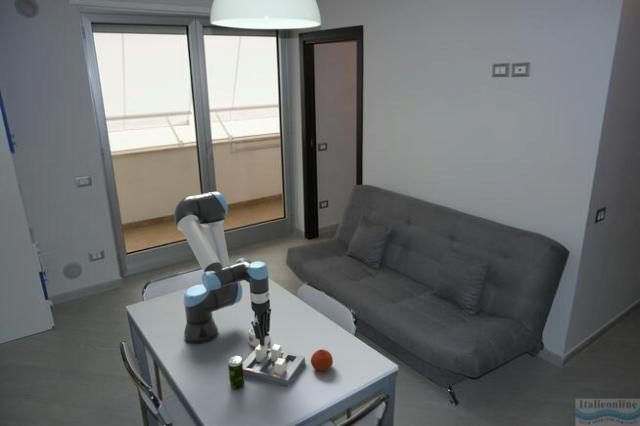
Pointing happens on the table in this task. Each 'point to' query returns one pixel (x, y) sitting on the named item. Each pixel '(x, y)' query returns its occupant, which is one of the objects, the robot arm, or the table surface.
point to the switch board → (273, 368)
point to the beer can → (236, 373)
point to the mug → (253, 340)
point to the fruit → (322, 360)
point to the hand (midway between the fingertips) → (264, 350)
